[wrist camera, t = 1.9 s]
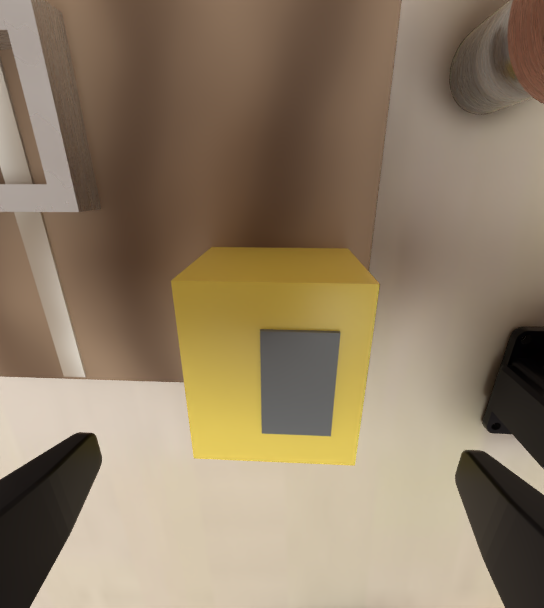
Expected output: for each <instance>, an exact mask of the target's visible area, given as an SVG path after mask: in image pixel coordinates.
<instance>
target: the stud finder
mask: <svg viewBox="0 0 544 608" xmlns="http://www.w3.org/2000/svg"><path fill="white" fill-rule="evenodd" d="M171 286H172V293H173V301H174V309H175V316H176V324H177V332H178V340H179V347H180V355H181V363H182V370H183V378H184V386H185V394H186V401H187V409H188V417H189V424H190V432H191V440H192V448H193V455H194V458H198V459H221V460H243V461H265V462H288V463H310V464H332V465H355V460H356V453H357V446H358V439H359V431H360V424H361V417H362V410H363V402H364V395H365V388H366V381H367V374H368V366H369V359H370V352H371V345H372V337H373V330H374V323H375V316H376V309H377V301H378V294H379V287H380V284H379V283H378V282H377V280H376V279H375V278H374V277H373V276H372V275H371V274H370V273H369V271H368V270H367V269H366V268H365V267H364V266H363V265H362V264H361V262H360V261H359V260H358V259H357V258H356V257H355V256H354V255H353V253H352V252H351V251H350V250H349V249H348V248H255V247H211V248H210V249H209V250H207V251H206V252H205V253H204V254H203V255H201V256H200V257H199V258H198V259H197V260H195V261H194V262H193V263H192V264H191V265H189V266H188V267H187V268H186V269H185V270H183V271H182V272H181V273H180V274H179V275H177V276H176V277H175V278H174V279H173V280H171Z"/></svg>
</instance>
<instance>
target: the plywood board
mask: <svg viewBox="0 0 544 608" xmlns="http://www.w3.org/2000/svg"><path fill="white" fill-rule="evenodd" d="M45 1H47V2H48V3H49V4H51V5H52V6H53V7H55V8H56V9H57V10H59V11H60V12H61V13H62V15H63V20H64V25H65V30H66V35H67V40H68V45H69V50H70V55H71V60H72V65H73V70H74V75H75V80H76V85H77V90H78V95H79V100H80V105H81V110H82V115H83V120H84V125H85V130H86V135H87V140H88V145H89V150H90V155H91V160H92V165H93V170H94V175H95V180H96V185H97V190H98V195H99V200H100V205H101V209H98V210H91V211H84V212H0V376H4V377H35V378H66V379H97V380H128V381H158V382H184V378H183V370H182V363H181V355H180V347H179V340H178V332H177V324H176V316H175V309H174V301H173V293H172V286H171V280H173V279H174V278H175V277H176V276H177V275H179V274H180V273H181V272H182V271H183V270H185V269H186V268H187V267H188V266H189V265H191V264H192V263H193V262H194V261H195V260H197V259H198V258H199V257H200V256H201V255H203V254H204V253H205V252H206V251H207V250H209V249H210V248H211V247H255V248H348V249H349V250H350V251H351V252H352V253H353V255H354V256H355V257H356V258H357V259H358V260H359V261H360V262H361V264H362V265H363V266H364V267H365V268H366V269H367V270H368V271H369V264H370V256H371V247H372V239H373V231H374V223H375V215H376V206H377V198H378V190H379V182H380V174H381V165H382V157H383V149H384V141H385V133H386V124H387V116H388V108H389V100H390V92H391V83H392V75H393V67H394V59H395V51H396V42H397V34H398V26H399V18H400V10H401V1H402V0H45ZM0 184H47V182H46V179H45V175H44V171H43V167H42V163H41V159H40V155H39V151H38V147H37V143H36V140H35V136H34V132H33V128H32V124H31V120H30V116H29V112H28V108H27V104H26V101H25V97H24V93H23V89H22V85H21V81H20V77H19V73H18V69H17V65H16V62H15V58H14V54H13V50H0Z"/></svg>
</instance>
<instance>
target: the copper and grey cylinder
mask: <svg viewBox="0 0 544 608" xmlns="http://www.w3.org/2000/svg"><path fill="white" fill-rule="evenodd" d="M450 88H451V92H452V95H453V97H454V99H455V101H456V102H457V103H458V105H459V106H460V107H462V108H463V109H464V110H466V111H468V112H470V113H474V114H487V113H492V112H494V111H497V110H500V109H503V108H506V107H509V106H512V105H515V104H517V103H520V102H523V101H526V100H529V99H532V98H535V99H536V100H538V101H539V102H541V103H543V104H544V0H509V1H508V2H507V3H506V4H505V5H503V6H502V7H501V8H500V9H498V10H497V11H496V12H495V13H494V14H492V15H491V16H490V17H489V18H488V19H486V20H485V21H484V22H483V23H482V24H480V25H479V26H478V27H477V28H476V29H474V30H473V31H472V32H471V33H470V34H469V35H468V36H467V37H466V38H465V39H464V41H463V42H462V43H461V45H460V46H459V48H458V50H457V52H456V54H455V56H454V59H453V62H452V65H451V70H450Z"/></svg>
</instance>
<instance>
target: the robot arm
mask: <svg viewBox="0 0 544 608" xmlns="http://www.w3.org/2000/svg"><path fill="white" fill-rule="evenodd" d="M524 336H526V337H525V338H524V339H523V340H521V339H522V337H524ZM482 424H483V425H484V427H485V428H486V429H487V431H489V432H490V433H500V434H513V435H514V436H515V437H516V439H517V440H518V441H519V442H520V443H521V444H522V445H523V447H524V448H525V449H526V450H527V451H528V452H529V453H530V454H531V456H532V457H533V458H534V459H535V460H536V461H537V462H538V463H539V465H540V466H541V467H542V468H543V469H544V327H521V328H518V329H516V330H515V331H513V332H512V334H511V336H510V339H509V342H508V345H507V348H506V351H505V354H504V357H503V360H502V363H501V366H500V369H499V372H498V376H497V379H496V382H495V385H494V388H493V391H492V394H491V397H490V400H489V403H488V406H487V409H486V412H485V415H484V418H483V423H482ZM101 463H102V455H101V451H100V448H99V444H98V441H97V437H96V435H95V434H94V433H82V432H79V433H76V434H74V435H72V436H70V437H69V438H67V439H65V440H64V441H62V442H61V443H59V444H57V445H56V446H54V447H52V448H51V449H49V450H48V451H46V452H44V453H43V454H41V455H39V456H38V457H36V458H35V459H33V460H31V461H30V462H28V463H27V464H25V465H23V466H22V467H20V468H18V469H17V470H15V471H14V472H12V473H10V474H9V475H7V476H5V477H4V478H2V479H1V480H0V608H30V606H31V604H32V602H33V601H34V599H35V597H36V595H37V593H38V592H39V590H40V588H41V586H42V584H43V583H44V581H45V579H46V577H47V575H48V573H49V572H50V570H51V568H52V566H53V564H54V563H55V561H56V559H57V557H58V555H59V554H60V552H61V550H62V548H63V546H64V544H65V542H66V541H67V539H68V537H69V535H70V533H71V531H72V529H73V527H74V525H75V523H76V520H77V518H78V516H79V514H80V511H81V509H82V507H83V505H84V502H85V500H86V498H87V496H88V494H89V491H90V489H91V487H92V485H93V482H94V480H95V478H96V476H97V473H98V471H99V469H100V466H101ZM455 480H456V485H457V488H458V491H459V494H460V496H461V499H462V502H463V505H464V508H465V510H466V513H467V516H468V519H469V522H470V524H471V527H472V530H473V533H474V535H475V538H476V541H477V544H478V547H479V549H480V552H481V554H482V557H483V560H484V562H485V564H486V567H487V569H488V571H489V573H490V576H491V578H492V580H493V582H494V584H495V587H496V589H497V591H498V593H499V595H500V597H501V600H502V602H503V604H504V606H505V608H544V495H543V494H542V493H540V492H539V491H537V490H536V489H535V488H533V487H532V486H531V485H529V484H528V483H527V482H525V481H524V480H522V479H521V478H520V477H518V476H517V475H516V474H514V473H513V472H512V471H510V470H509V469H508V468H506V467H505V466H503V465H502V464H501V463H499V462H498V461H497V460H495V459H494V458H493V457H491V456H490V455H488V454H487V453H485V452H484V451H480V450H465V451H463V452H462V454H461V458H460V461H459V464H458V467H457V471H456V474H455Z"/></svg>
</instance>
